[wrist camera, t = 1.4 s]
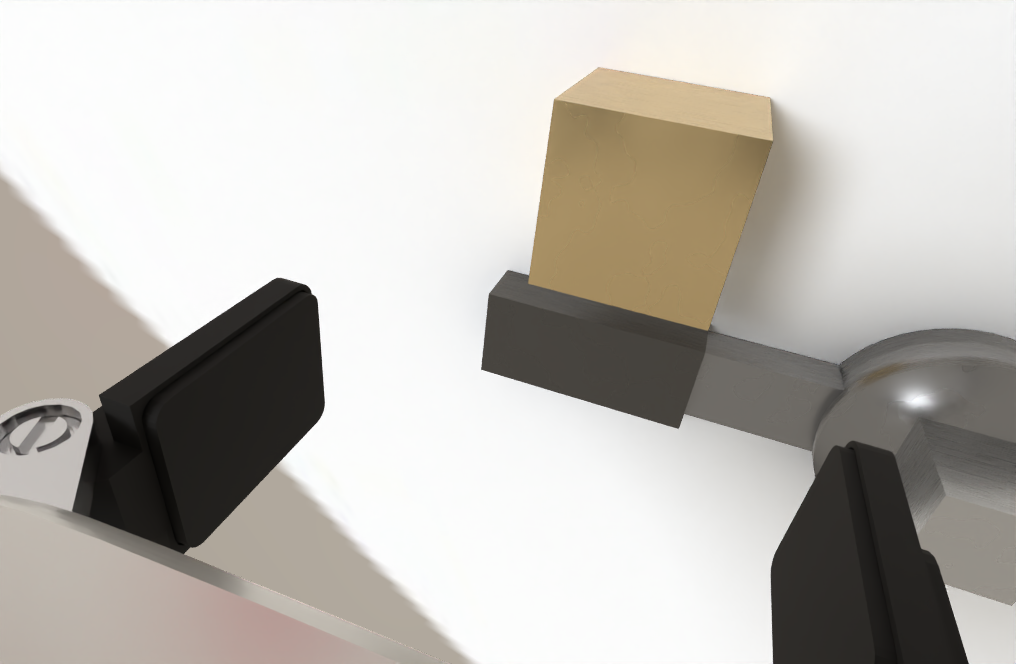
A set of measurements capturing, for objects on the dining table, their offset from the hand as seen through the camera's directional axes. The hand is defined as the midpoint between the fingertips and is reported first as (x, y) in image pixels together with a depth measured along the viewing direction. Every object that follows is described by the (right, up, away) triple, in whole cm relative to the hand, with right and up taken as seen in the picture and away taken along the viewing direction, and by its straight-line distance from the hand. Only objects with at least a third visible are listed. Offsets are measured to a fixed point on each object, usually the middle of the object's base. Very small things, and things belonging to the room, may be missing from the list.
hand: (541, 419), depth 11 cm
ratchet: (+10, 0, +15) cm, 18 cm away
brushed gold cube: (+5, +8, +12) cm, 15 cm away
